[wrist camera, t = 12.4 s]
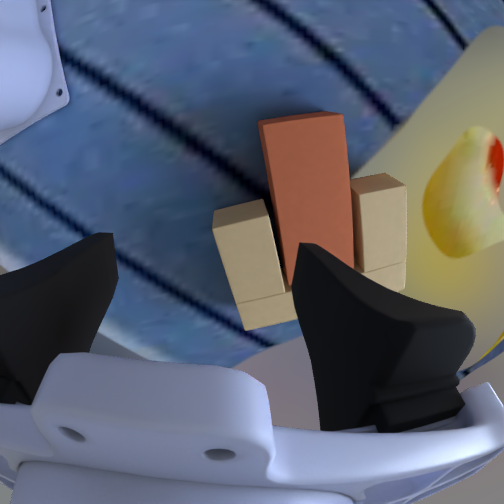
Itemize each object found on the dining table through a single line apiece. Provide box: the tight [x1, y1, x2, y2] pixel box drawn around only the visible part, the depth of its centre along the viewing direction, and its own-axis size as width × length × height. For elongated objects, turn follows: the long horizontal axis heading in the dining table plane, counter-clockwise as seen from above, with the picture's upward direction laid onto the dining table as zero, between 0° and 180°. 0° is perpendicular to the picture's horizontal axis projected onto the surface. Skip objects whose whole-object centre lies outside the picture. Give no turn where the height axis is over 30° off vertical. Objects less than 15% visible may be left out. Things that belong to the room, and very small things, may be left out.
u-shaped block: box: [212, 173, 407, 331], centre depth 20 cm, size 8×12×3 cm, turn 103°
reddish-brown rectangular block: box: [257, 111, 354, 285], centre depth 19 cm, size 10×4×3 cm, turn 10°
